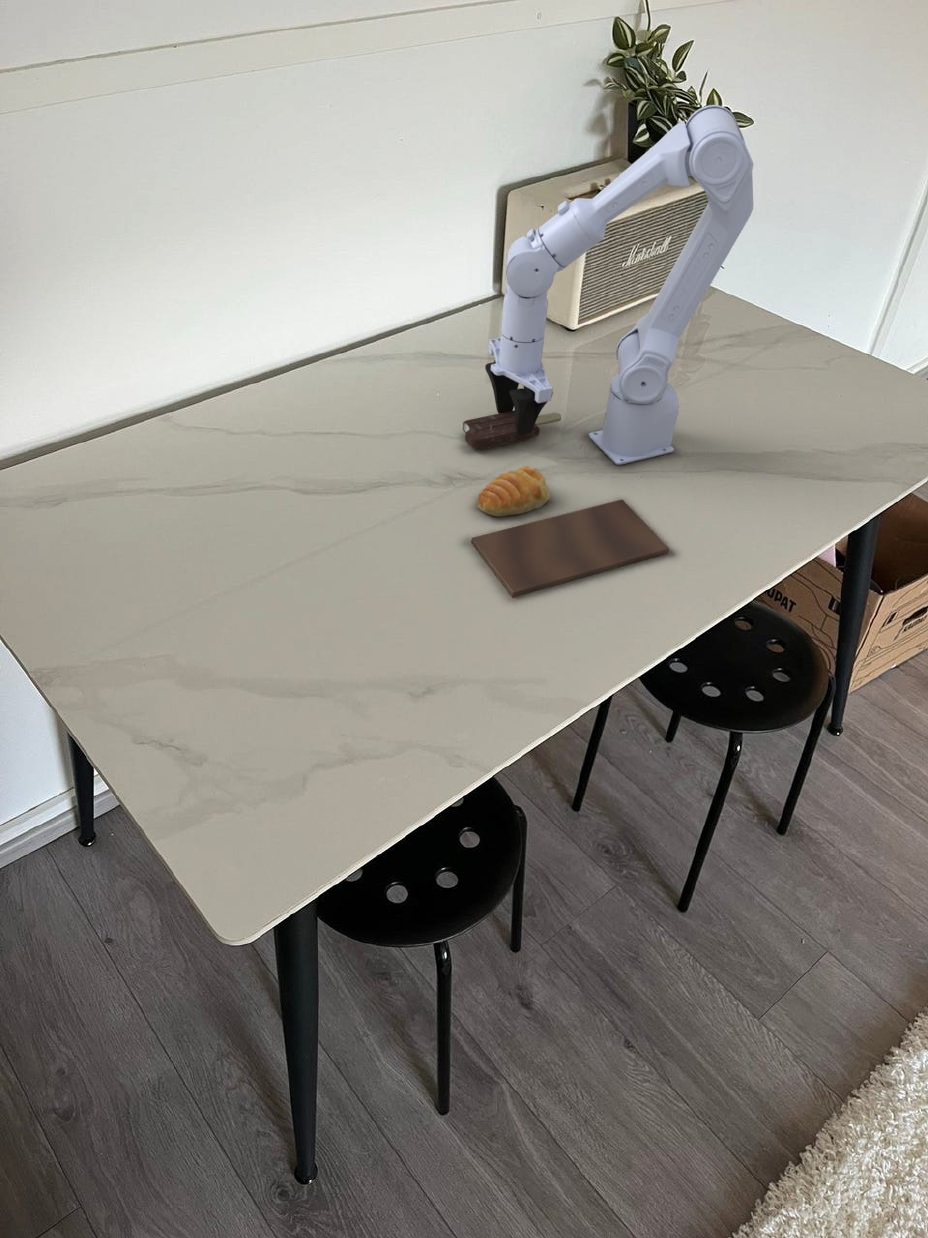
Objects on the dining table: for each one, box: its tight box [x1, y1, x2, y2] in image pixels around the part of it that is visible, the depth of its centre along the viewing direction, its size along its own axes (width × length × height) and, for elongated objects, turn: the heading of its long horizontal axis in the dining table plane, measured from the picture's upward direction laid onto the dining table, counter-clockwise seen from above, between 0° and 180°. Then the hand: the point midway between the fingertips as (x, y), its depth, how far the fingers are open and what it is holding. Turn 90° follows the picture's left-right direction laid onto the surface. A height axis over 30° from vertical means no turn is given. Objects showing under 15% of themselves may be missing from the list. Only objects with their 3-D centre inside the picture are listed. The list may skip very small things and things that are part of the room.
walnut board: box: [470, 499, 670, 598], centre depth 128 cm, size 22×11×1 cm, turn 116°
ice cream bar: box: [462, 409, 562, 450], centre depth 145 cm, size 5×2×15 cm
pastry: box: [477, 465, 551, 518], centre depth 133 cm, size 9×7×4 cm
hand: (514, 422), depth 144 cm, fingers closed on ice cream bar, 5 cm apart
